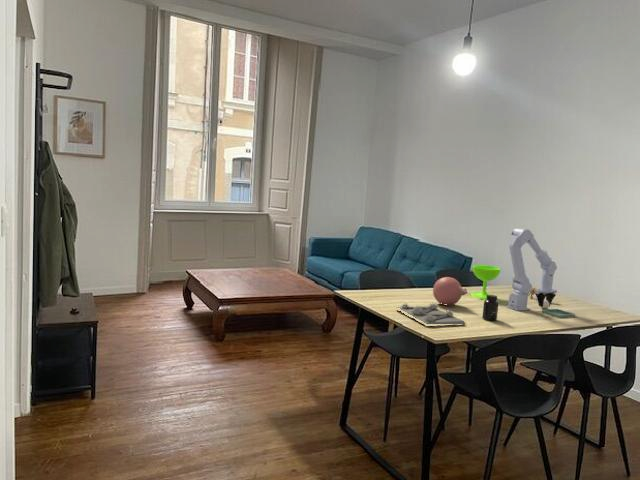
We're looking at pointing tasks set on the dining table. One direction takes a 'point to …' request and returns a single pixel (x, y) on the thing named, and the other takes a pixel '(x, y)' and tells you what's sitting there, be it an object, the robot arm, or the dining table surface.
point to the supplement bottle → (490, 308)
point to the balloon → (448, 291)
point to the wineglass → (484, 277)
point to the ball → (545, 304)
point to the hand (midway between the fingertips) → (544, 306)
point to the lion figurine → (533, 292)
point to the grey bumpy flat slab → (431, 314)
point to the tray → (558, 313)
